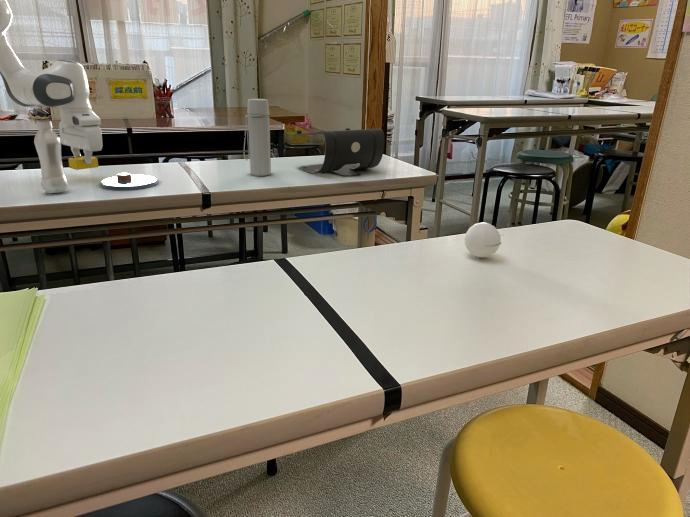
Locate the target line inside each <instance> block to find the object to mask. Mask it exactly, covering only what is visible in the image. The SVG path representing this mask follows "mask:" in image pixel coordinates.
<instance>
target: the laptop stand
mask: <svg viewBox="0 0 690 517" xmlns="http://www.w3.org/2000/svg"><path fill="white" fill-rule="evenodd" d="M310 135H312V136H313V135H323V137H324V144H325V147H324V148H325V150H324V159H323V163H319V164H317V163H316V164H309V165H302V166H299V169H300V170H302V171H304V172H306V173H309V174H321V173H331V172H332V173H334V174H336V175H339V176H342V177H355V176H360V175H361V173H359V172H357V171H354V170H362V169H363V170H364V169H373V168H376V167H377V166H379V164H380V163H381V162H382V159H383V155H384V151H385V133H384V130H383V129H382V128H367V129H366V128H365V129H351V128H347V127H346V128H345V129H344V130H343V129H342V130H319V131H313V132H306V133H305V132H304V133H303V132H302V130H296V134H294V136H310ZM354 143H358V144H359V149H358V150H357V151H353V149H352V147H353V144H354Z"/></svg>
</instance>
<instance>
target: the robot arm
mask: <svg viewBox="0 0 690 517" xmlns="http://www.w3.org/2000/svg"><path fill="white" fill-rule="evenodd" d="M12 20H13V13H12V10H11V7H10V5H9V3H8V1H7V0H0V77H1V78H2V82H3V84H4V88H5V90H6V93H7V95H8V97H9V99H11V100H12V101H13V102H14V103H15V104H17V105H18V106H22V107H27V108H30V107H33V108H34V107H38V108H49V109H50V108H56V107H58V109H59V116H60V121H59V123H58V133H59V137H60V140H61V145H63V146H67V147H70V151H71V152H72V154H73V158H76V157H84V158H83V159H84V163H85V164H91V163H92V161H91V157H93V153H94V152H99V151H102V149H103V146H104V145H103V135H102V134H103V133H102V129H101V127H100V126H101V125H102V120H101V117H99V116H98V115H97V114H96V113H95V112H94V111H93V109H92V104H91V102H90V87H89V81H88V76H87V72H86V69H85V68H84V66H83V65H82V64H81V63H79V62H75V61H73V60H65V59H57V60H55V61H54V63H52V64H51V65H50V66H48V67H46V68H45V69H42V70H39V71H31V70H29V69H28V68H26V67H25V66H23V64H22V63H21V61H20V59H19V58H18V56H17V55H16V53H15V52H14V50H13V49H12V47H11V45H10V44H9V41H8V40H7V35H6V34H7V33H6V32H7V30H8V29H10V28H9V27H11V23H12ZM80 150H83V154H84V156H83V155H81V152H80Z"/></svg>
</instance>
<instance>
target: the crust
mask: <svg viewBox="0 0 690 517" xmlns="http://www.w3.org/2000/svg"><path fill="white" fill-rule="evenodd" d="M131 175H132V173H128V172H121V173H118V174H116V176H117V179H119V180H127V179H131Z"/></svg>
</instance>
